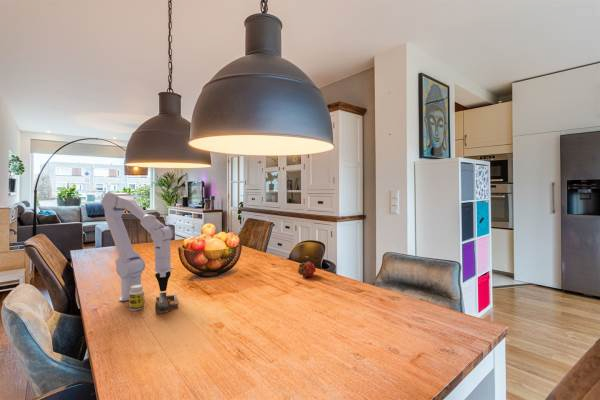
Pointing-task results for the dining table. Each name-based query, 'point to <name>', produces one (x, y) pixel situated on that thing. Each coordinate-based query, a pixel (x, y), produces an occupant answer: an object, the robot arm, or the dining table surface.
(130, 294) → the supplement bottle
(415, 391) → the dining table surface
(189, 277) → the dining table surface
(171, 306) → the mount
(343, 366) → the dining table surface
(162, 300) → the lock pin
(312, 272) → the dragon fruit
